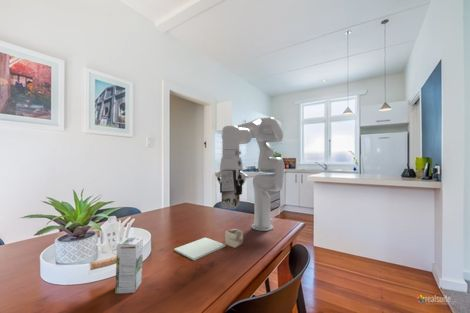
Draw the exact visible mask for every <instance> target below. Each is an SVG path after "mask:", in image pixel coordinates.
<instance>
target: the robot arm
mask: <svg viewBox="0 0 470 313" xmlns="http://www.w3.org/2000/svg"><path fill="white" fill-rule="evenodd" d="M252 138H255V139H256V140H255V141H256V143H257V146H258V148H259V153H258V154H259V155H258V162H257V170H258V171H259V173H260V174H256V175H254V176H253V178H252V186H253V194H254V196H253V197H254V198H253V199H254V200H253V201H254V214H253V216H254V221H253V222H254V223H252V224H251V228H252V229H253V230H255V231H260V232H266V231H267V232H268V231H272V230H273V229H274V225H273V224H272V222H274V218H271V217H272V216H271V207H272V206H271V200H272V199H271V196H270V194H269V192H280V191H281V190H282V189H283V184H284V175H285V174H284V173H285V162H284V159H283V158H282V157H280V156H279V157H277V156H275V157H274V149H273V148H272V146H271V145H270V143H279V142H281V141H283V138H284V132H283V129H282V127H281V126H280V124H279V122H278V121H277V119H275V117H272V116H270V117H261V118H259V117H258V118H256V119H253V120H251V121H248V122H245V123H241V124H238V125H225V126H223V128H222V134H221V140H222V142H221V143H222V150H221V154H222V155H221V159H220V167H219V171H218V172H217V173H215V177H216V178H217V181H218V184H219V193H220V194H222V170H236V183H237V186H236V195H240V196H241V195H242V194H243V185H244V184H245V183H246V182H247V181H246V180H247V178H248V174H246V173H245V172H244V167H243V161H242V160H243V159H242V157H240V155H241V154H242V152H241V151H240V145H246V144H248V143H250V142H251V140H252Z"/></svg>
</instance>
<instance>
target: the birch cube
mask: <svg viewBox="0 0 470 313" xmlns="http://www.w3.org/2000/svg"><path fill="white" fill-rule="evenodd" d="M224 233H225V234H224V235H225V237H224V238H225V240H224V241H225V242H224V244H225V246H229V247H231V248H235V249H236V248H237V247H240V246H241V245H243V244H244V230H239V229H237V228H231V229H229V230H226V231H224Z"/></svg>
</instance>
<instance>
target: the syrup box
mask: <svg viewBox="0 0 470 313" xmlns="http://www.w3.org/2000/svg"><path fill="white" fill-rule="evenodd" d="M143 253H144V238H143V237H125V238H124V239H123V240H121V241H120V243H118V244H117V245H116V260H115V261H116V263H115V264H116V265H115V266H116V267H115V269H116V270H115V289H114V290H115V292H114V293H115V294H119V295H120V294H130V293H131V294H132V293H133V294H134V293H136V291H137V290H138V288H139V287H140V285H141V284H142V282H143V261H144V260H143V258H144V257H143V256H144V255H143Z"/></svg>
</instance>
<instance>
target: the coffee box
mask: <svg viewBox="0 0 470 313" xmlns="http://www.w3.org/2000/svg"><path fill="white" fill-rule="evenodd" d="M236 186H237V183H236V170H222V193H221V205H220V206H221V207H220V208H221V209H232V210H235V209H237V208H238V207H239V206H240V205H241V204H240V201H241V200H240V199H241V197H240V196H241V195H236Z"/></svg>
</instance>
